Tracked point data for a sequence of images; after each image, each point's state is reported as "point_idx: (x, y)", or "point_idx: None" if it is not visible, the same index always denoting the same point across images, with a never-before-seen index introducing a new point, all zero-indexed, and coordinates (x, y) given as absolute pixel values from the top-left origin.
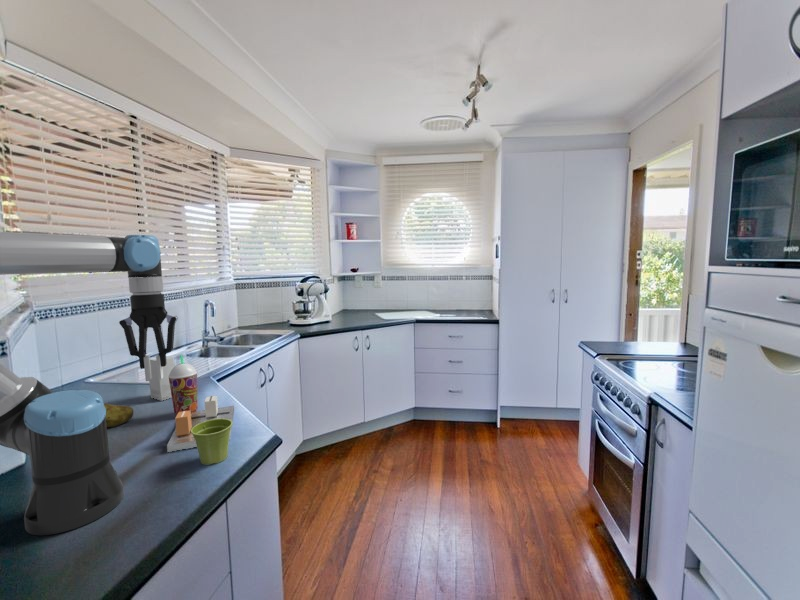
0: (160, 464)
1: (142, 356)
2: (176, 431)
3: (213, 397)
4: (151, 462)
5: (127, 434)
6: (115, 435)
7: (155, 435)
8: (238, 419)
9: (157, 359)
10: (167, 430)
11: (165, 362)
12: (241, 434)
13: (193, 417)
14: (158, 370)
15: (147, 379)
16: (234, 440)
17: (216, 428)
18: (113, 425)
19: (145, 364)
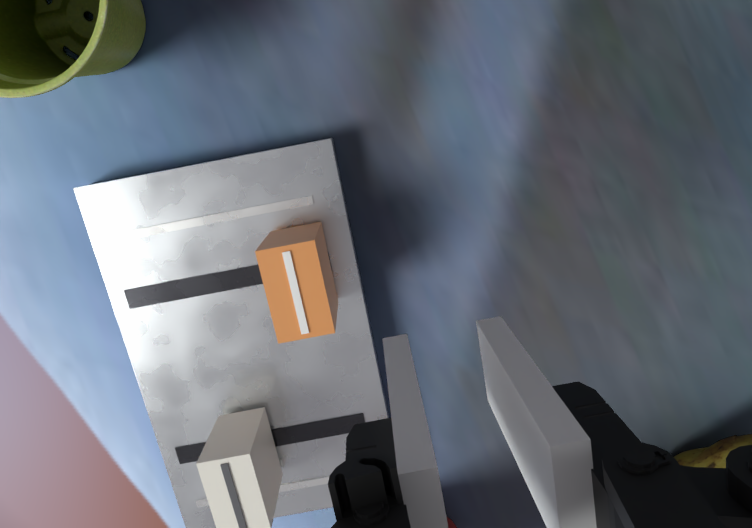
0: (316, 27)
1: (612, 454)
2: (318, 225)
3: (226, 511)
4: (364, 58)
5: (584, 369)
6: (630, 370)
7: (459, 331)
8: (142, 420)
9: (416, 440)
10: (426, 371)
11: (347, 455)
12: (63, 250)
13: (332, 430)
14: (404, 373)
15: (489, 322)
16: (72, 192)
17: (40, 80)
18: (676, 456)
19: (540, 390)
